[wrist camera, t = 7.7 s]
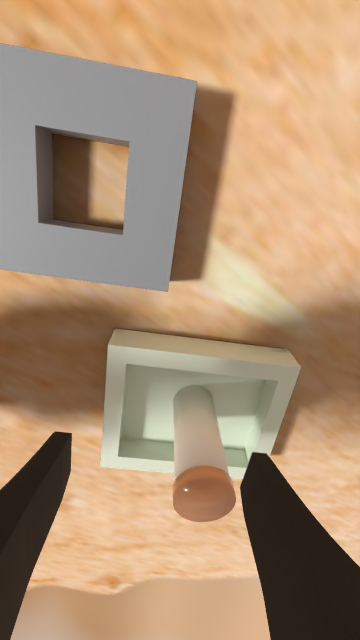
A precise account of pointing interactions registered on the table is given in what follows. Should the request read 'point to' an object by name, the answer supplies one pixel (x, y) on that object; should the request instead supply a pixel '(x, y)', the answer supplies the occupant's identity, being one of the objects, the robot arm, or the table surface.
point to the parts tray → (185, 370)
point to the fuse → (199, 458)
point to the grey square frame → (97, 125)
